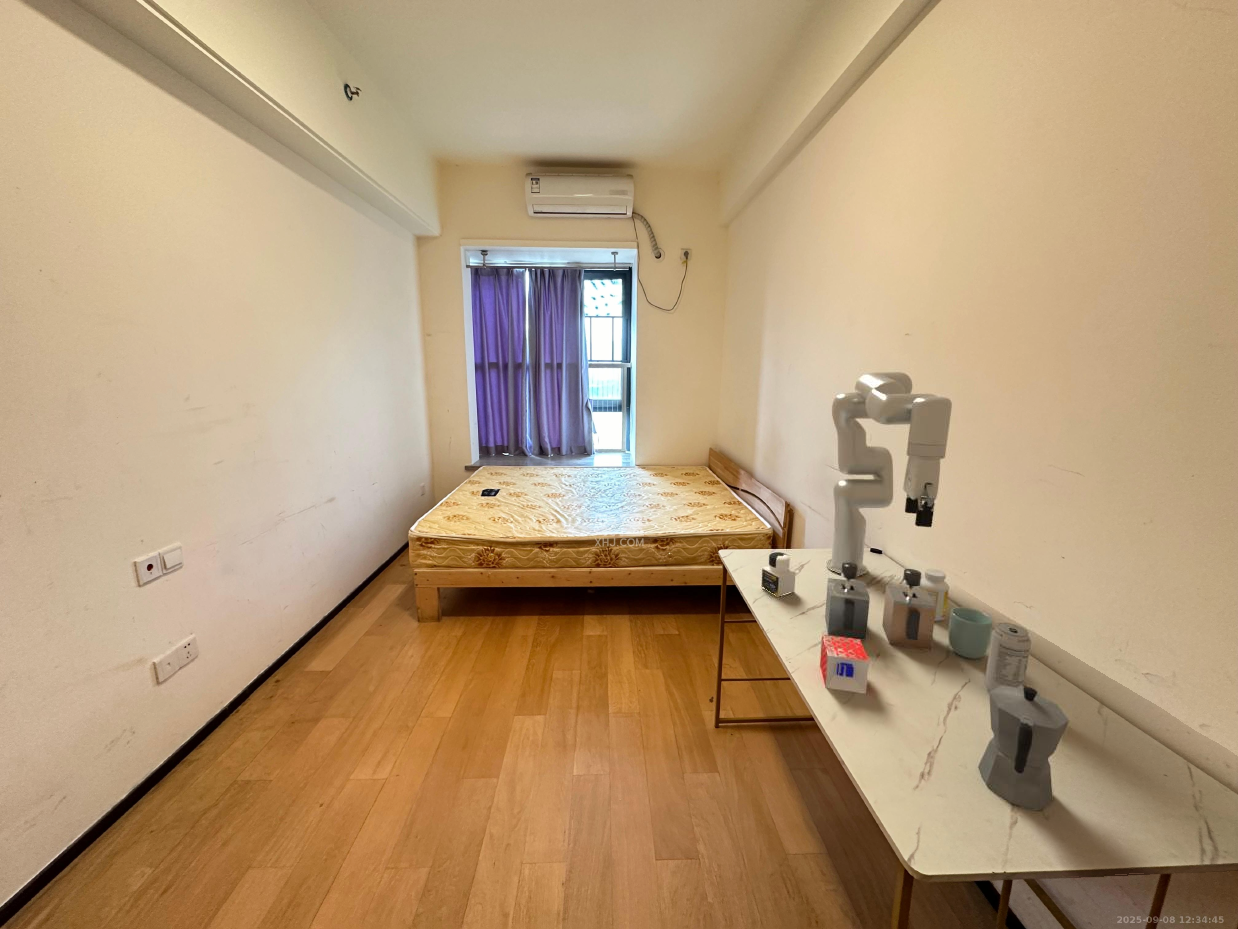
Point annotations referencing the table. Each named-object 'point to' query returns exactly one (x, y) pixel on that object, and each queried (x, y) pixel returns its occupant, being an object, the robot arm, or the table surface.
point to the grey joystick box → (847, 609)
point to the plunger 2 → (911, 579)
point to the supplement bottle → (936, 590)
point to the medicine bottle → (778, 575)
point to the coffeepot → (1022, 745)
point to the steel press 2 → (908, 617)
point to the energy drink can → (1007, 656)
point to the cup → (969, 632)
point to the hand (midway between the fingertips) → (917, 519)
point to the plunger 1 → (849, 572)
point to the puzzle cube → (844, 664)
